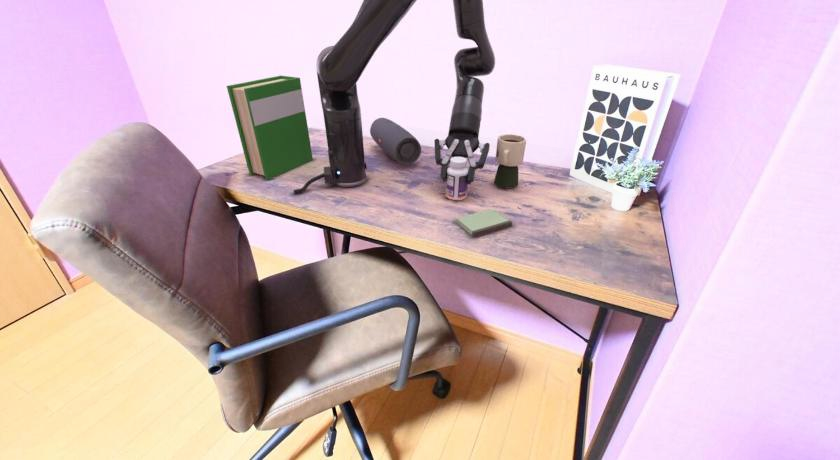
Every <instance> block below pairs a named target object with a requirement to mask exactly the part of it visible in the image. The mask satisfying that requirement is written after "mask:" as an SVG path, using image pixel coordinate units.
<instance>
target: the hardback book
mask: <svg viewBox="0 0 840 460" xmlns="http://www.w3.org/2000/svg"><path fill="white" fill-rule="evenodd" d="M226 89H227V90H226V91H227V94H228V97H229V100H230V104H231V109H232V112H233V117H234V121H235V124H236V127H237V132H238V135H239V139H240V143H241V148H242V151H243V154H244V159H245V163H246V166H247V170H248V174H249V176H254V175H256V174H257V175H260V176H264V179H265V180H266V181H269V180H271V179H273V178H276V177H278V176H280V175H282V174H285V173H286V172H289V171H291V170H294V169H296V168H298V167H300V166H303V165H305V164H307V163H309V162H311V161H313V160H314V159H313V158H314V157H313V152H312V145H311V139H310V133H309V132H310V131H309V126H308V121H307V114H306V107H305V101H304V95H303V89H302V84H301V78H300V77H297V76H296V77H295V76H290V75H289V76H287V75H276V76H271V77H266V78H260V79H256V80H251V81H244V82H240V83H235V84H229V85H226Z"/></svg>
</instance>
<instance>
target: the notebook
mask: <svg viewBox="0 0 840 460" xmlns="http://www.w3.org/2000/svg"><path fill="white" fill-rule="evenodd" d="M455 222H456V224H458V225H459V226H460V227H461V228H462V229H463V230H464V231H465V232H467V234H469V235H470V236H471V237H472V238H476V237H477V238H478V237H481V236H484V235H487V234H491V233H494V232H498V231H501V230H505V229H508V228H511V227H512V226H513V221H512V220H510V219H509V218H508V217H506V216H504V215H503V214H502V213H501V212H499V211H497V210H496V209H495V208H489V209H486V210H482V211H478V212H474V213H470V214H466V215H462V216H458V217H456V221H455Z"/></svg>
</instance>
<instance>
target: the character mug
mask: <svg viewBox="0 0 840 460" xmlns="http://www.w3.org/2000/svg"><path fill="white" fill-rule="evenodd" d="M496 141H497V142H496V151H495V157H494V158H495V162H496V163H498V165H497V168H496V172H495V176H494V181H493V183H494V185H495V186H496V187H499V188H504V189H505V188H506V189H515V188H517V187H518V185H519V166H521V165H522V164H523V163H524V157H525V150H526V145H527V138H526V137H525V136H522V135H519V134H512V133H507V134H501V135H498V136H497V140H496Z"/></svg>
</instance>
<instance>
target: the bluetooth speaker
mask: <svg viewBox="0 0 840 460" xmlns="http://www.w3.org/2000/svg"><path fill="white" fill-rule="evenodd" d="M369 134H370V136H371V138H372V140H373V141H374V142H375V143H376V145H378V147H379V148H380V149H381V150H382V151H383V152H384V153H386V155H387V156H388V157H389V158H391V159H392V160H393V161H395V162H397V163H398V164H402V165H408V166H409V165H412V164H414V163H415V162H417V161H418V159H419V158H420V157H421V154H422V146H421V143H420V141H419V140H418V139H417V138H416V137H415V136H414V135H413V134H412V133H411V132H409V131H408V130H407V129H405V128H404V127H402V126H401V125H400V124H398V123H396V121H393V120H391V119H389V118H386V117H379V118H376V119H375V120H373V122H372V123H371V125H370V128H369Z"/></svg>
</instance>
